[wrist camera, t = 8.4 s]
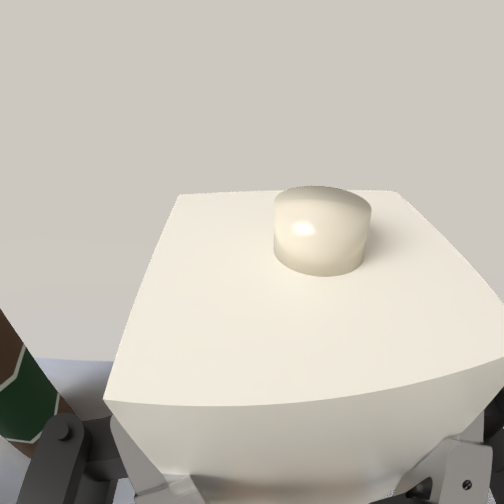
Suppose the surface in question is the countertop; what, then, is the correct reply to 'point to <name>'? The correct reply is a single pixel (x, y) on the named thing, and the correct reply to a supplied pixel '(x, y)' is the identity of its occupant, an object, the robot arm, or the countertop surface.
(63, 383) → the countertop surface
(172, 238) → the knobbed cream block
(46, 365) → the countertop surface
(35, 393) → the beer bottle
